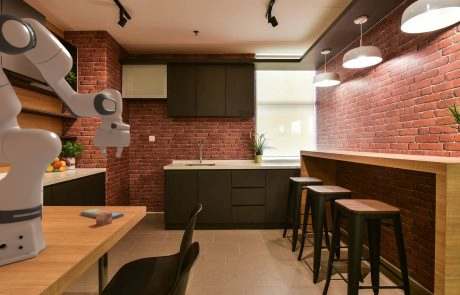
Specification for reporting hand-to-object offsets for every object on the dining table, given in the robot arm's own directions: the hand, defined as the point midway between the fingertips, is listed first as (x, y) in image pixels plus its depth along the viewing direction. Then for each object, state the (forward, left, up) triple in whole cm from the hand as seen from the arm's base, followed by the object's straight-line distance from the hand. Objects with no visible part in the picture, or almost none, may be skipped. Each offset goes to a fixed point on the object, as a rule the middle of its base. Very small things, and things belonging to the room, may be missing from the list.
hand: (111, 156), depth 116 cm
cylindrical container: (-14, +36, -29) cm, 48 cm away
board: (+5, +13, -29) cm, 32 cm away
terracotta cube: (-3, 0, -29) cm, 29 cm away
